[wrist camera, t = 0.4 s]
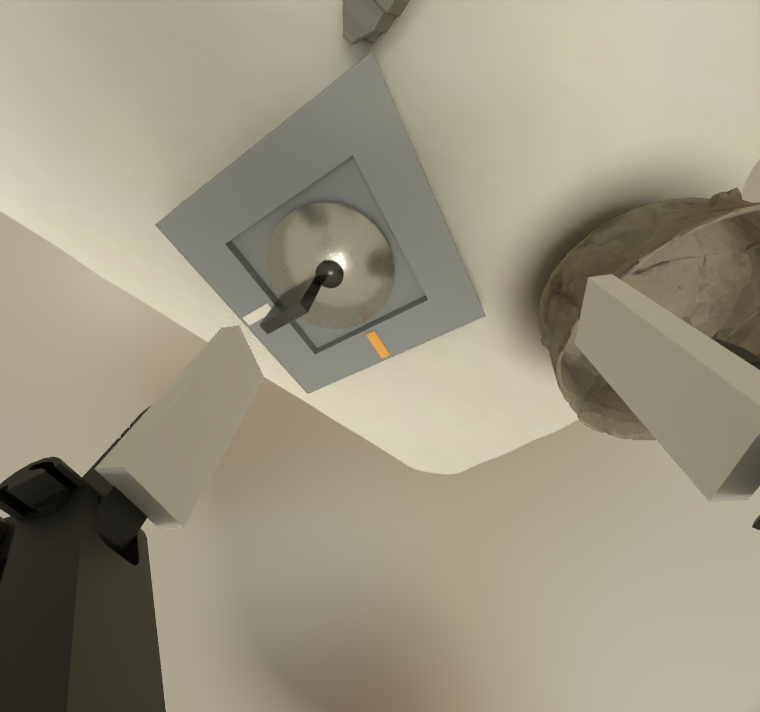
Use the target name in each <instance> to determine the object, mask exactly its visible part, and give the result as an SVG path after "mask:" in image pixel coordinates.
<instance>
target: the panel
mask: <svg viewBox="0 0 760 712" xmlns="http://www.w3.org/2000/svg"><path fill="white" fill-rule="evenodd" d="M317 201H335V202H340V203H344V204H347V205H350V206H353V207H355V208H357V209H358V210H360V211H362V212H363V213H365V214H366V215H368V216H369V217H370V218H371V219H372V220H373V221H374V222H375V223H376V224H377V225H378V226H379V227H380V229H381V230H382V231H383V233H384V234H385V236H386V238H387V240H388V242H389V244H390V247H391V250H392V253H393V259H394V283H393V287H392V291H391V293H390V296H389V298H388V300H387V302H386V303H385V305H384V306H383V308H382V309H381V310H380V311H379V312H378V313H377V314H376V315H375V316H374V317H372V318H371V319H370V320H368V321H366V322H364V323H362V324H360V325H358V326H354V327H351V328H345V329H328V328H323V327H319V326H315V325H312V324H310V323H308V322H306V321H304V320H302V319H300V318H297V319H295V320H294V321H292V322H290V323H288V324H286V325H284V326H282V327H281V328H279V329H277V330H275V331H273V332H271V333H269V334H268V335H267V333H266V332H265V331H264V330H263V329H262V328H261V327H260V323H261V322H262V321H263V319H264V318H265V317H266V315H267V314H268V312H269V311H270V310H271V308H272V307H273V306H274V304H275V303H276V301H277V300H278V299H279V298H278V297H277V295H276V294H275V292H274V290H273V288H272V286H271V283H270V281H269V277H268V274H267V268H266V251H267V246H268V242H269V239H270V237H271V235H272V232H273V231H274V229H275V228H276V226H277V225H278V224H279V223H280V221H281V220H282V219H283V218H284V217H286V216H287V215H288V214H289V213H291V212H292V211H294V210H295V209H297V208H299V207H301V206H303V205H306V204H308V203H312V202H317ZM156 226H157V227H158V228H159V230H160V231H161V232H162V233H163V234H164V235H165V236H166V237H167V238H168V240H169V241H170V242H171V243H172V244H173V245H174V246H175V247H176V248H177V250H178V251H179V252H180V253H181V254H182V255H183V256H184V257H185V258H186V260H187V261H188V262H189V263H190V264H191V265H192V266H193V267H194V268H195V270H196V271H197V272H198V273H199V274H200V275H201V276H202V277H203V278H204V280H205V281H206V282H207V283H208V284H209V285H210V286H211V287H212V288H213V290H214V291H215V292H216V293H217V294H218V295H219V296H220V297H221V298H222V299H223V301H224V302H225V303H226V304H227V305H228V306H229V307H230V308H231V309H232V311H233V312H234V313H235V314H236V315H237V316H238V317H239V318H240V319H241V321H242V322H243V323H244V324H245V325H246V326H247V327H248V328H249V329H250V331H251V332H252V333H253V334H254V335H255V336H256V337H257V338H258V339H259V341H260V342H261V343H262V344H263V345H264V346H265V347H266V348H267V349H268V351H269V352H270V353H271V354H272V355H273V356H274V357H275V358H276V359H277V361H278V362H279V363H280V364H281V365H282V366H283V367H284V368H285V369H286V371H287V372H288V373H289V374H290V375H291V376H292V377H293V378H294V379H295V381H296V382H297V383H298V384H299V385H300V386H301V387H302V388H303V389H304V390H305V392H306V393H307V394H309V393H311V392H313V391H316V390H318V389H320V388H322V387H325V386H327V385H329V384H331V383H334V382H336V381H338V380H341V379H343V378H345V377H347V376H350V375H352V374H354V373H357V372H359V371H361V370H363V369H366V368H368V367H370V366H373V365H375V364H377V363H379V362H382V361H384V360H386V359H388V358H391V357H393V356H395V355H398V354H400V353H402V352H404V351H407V350H409V349H411V348H414V347H416V346H418V345H420V344H423V343H425V342H427V341H429V340H432V339H434V338H436V337H439V336H441V335H443V334H445V333H448V332H450V331H452V330H455V329H457V328H459V327H461V326H464V325H466V324H468V323H470V322H473V321H475V320H477V319H480V318H482V317H484V316H486V315H485V313H484V310H483V308H482V306H481V303H480V301H479V299H478V297H477V294H476V292H475V290H474V287H473V285H472V283H471V280H470V278H469V276H468V273H467V271H466V269H465V266H464V264H463V262H462V259H461V257H460V255H459V252H458V250H457V248H456V245H455V243H454V241H453V238H452V236H451V234H450V231H449V229H448V227H447V224H446V222H445V220H444V217H443V215H442V213H441V210H440V208H439V206H438V203H437V201H436V199H435V197H434V194H433V192H432V190H431V187H430V185H429V183H428V180H427V178H426V176H425V173H424V171H423V169H422V166H421V164H420V162H419V159H418V157H417V155H416V152H415V150H414V148H413V145H412V143H411V141H410V138H409V136H408V134H407V131H406V129H405V127H404V124H403V122H402V120H401V117H400V115H399V113H398V110H397V108H396V106H395V104H394V101H393V99H392V97H391V94H390V92H389V90H388V87H387V85H386V83H385V80H384V78H383V76H382V73H381V71H380V69H379V66H378V64H377V62H376V59H375V57H374V55H373V52H371V53H370V54H368V55H367V56H366V57H365V58H363V59H362V60H361V61H360V62H358V63H357V64H356V65H355V66H353V67H352V68H351V69H349V70H348V71H347V72H346V73H344V74H343V75H342V76H341V77H339V78H338V79H337V80H336V81H334V82H333V83H332V84H331V85H329V86H328V87H327V88H326V89H324V90H323V91H322V92H321V93H319V94H318V95H317V96H316V97H314V98H313V99H312V100H311V101H309V102H308V103H307V104H306V105H304V106H303V107H302V108H301V109H299V110H298V111H297V112H296V113H294V114H293V115H292V116H291V117H289V118H288V119H287V120H286V121H284V122H283V123H282V124H281V125H279V126H278V127H277V128H276V129H274V130H273V131H272V132H271V133H269V134H268V135H267V136H266V137H264V138H263V139H262V140H261V141H259V142H258V143H257V144H256V145H254V146H253V147H252V148H251V149H249V150H248V151H247V152H246V153H244V154H243V155H242V156H241V157H239V158H238V159H237V160H236V161H234V162H233V163H232V164H231V165H229V166H228V167H227V168H226V169H224V170H223V171H222V172H221V173H219V174H218V175H217V176H216V177H214V178H213V179H212V180H211V181H209V182H208V183H207V184H206V185H204V186H203V187H202V188H201V189H199V190H198V191H197V192H196V193H194V194H193V195H192V196H191V197H189V198H188V199H187V200H186V201H184V202H183V203H182V204H181V205H179V206H178V207H177V208H176V209H174V210H173V211H172V212H171V213H169V214H168V215H167V216H166V217H164V218H163V219H162V220H161V221H159V222H158V223H157V224H156Z"/></svg>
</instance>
